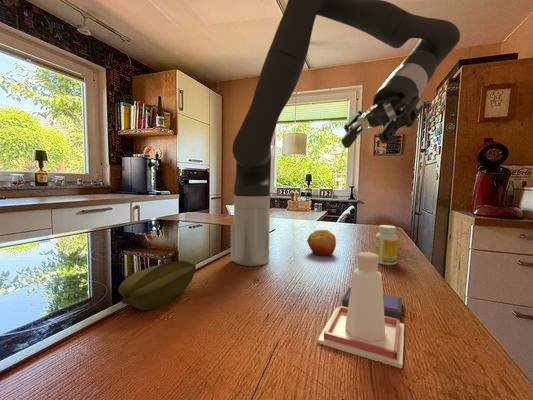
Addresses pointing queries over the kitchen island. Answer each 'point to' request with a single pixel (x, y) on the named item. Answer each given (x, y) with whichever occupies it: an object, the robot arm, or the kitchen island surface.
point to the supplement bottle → (386, 245)
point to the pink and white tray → (376, 350)
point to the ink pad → (390, 304)
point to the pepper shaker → (366, 300)
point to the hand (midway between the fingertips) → (362, 142)
